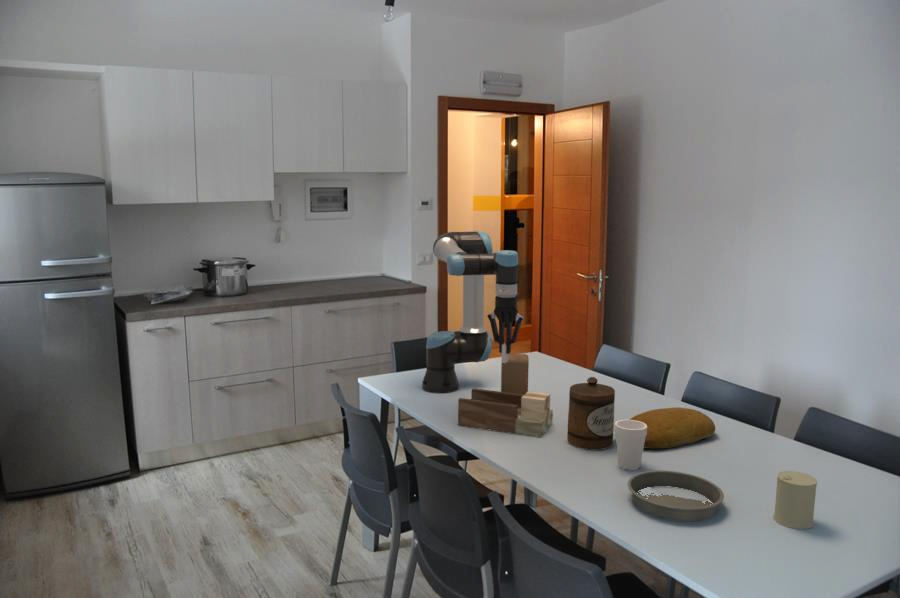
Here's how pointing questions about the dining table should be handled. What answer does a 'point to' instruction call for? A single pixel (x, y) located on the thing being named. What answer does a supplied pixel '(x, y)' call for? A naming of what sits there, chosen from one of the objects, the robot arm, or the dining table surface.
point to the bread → (674, 427)
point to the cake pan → (670, 504)
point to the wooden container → (591, 415)
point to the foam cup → (630, 442)
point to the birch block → (535, 405)
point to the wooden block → (515, 374)
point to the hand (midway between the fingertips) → (504, 361)
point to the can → (795, 499)
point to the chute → (499, 413)
